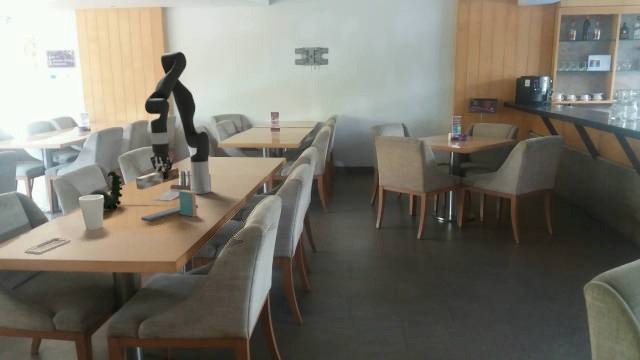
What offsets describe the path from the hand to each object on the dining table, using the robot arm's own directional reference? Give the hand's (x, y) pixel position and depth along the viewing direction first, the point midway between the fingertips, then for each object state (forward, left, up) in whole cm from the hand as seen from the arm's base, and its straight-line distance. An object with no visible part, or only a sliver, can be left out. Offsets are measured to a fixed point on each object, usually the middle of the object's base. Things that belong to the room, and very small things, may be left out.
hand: (163, 178), depth 240 cm
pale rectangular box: (+3, 0, -2) cm, 3 cm away
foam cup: (+36, -3, -15) cm, 39 cm away
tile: (+2, +17, -15) cm, 23 cm away
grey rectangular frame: (+60, +4, -16) cm, 62 cm away
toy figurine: (+16, -23, -15) cm, 32 cm away
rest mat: (+4, +8, -15) cm, 17 cm away
